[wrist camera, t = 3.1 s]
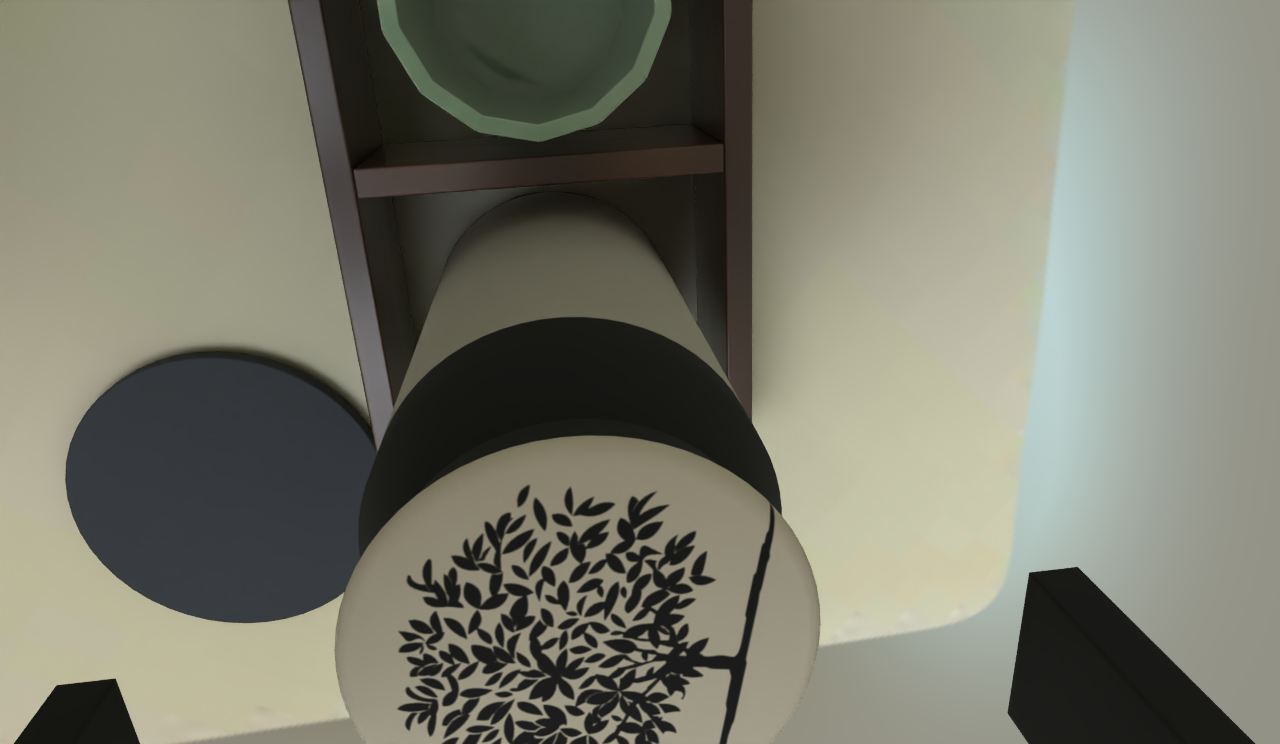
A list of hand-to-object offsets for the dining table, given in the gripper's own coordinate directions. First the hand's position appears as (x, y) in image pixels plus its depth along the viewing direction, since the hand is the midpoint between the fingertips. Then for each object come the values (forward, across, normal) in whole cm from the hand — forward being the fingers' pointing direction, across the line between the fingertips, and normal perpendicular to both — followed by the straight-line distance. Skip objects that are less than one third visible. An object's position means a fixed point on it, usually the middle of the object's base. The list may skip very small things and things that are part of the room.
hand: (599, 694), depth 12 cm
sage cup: (+18, 0, +10) cm, 21 cm away
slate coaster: (+18, -12, -6) cm, 23 cm away
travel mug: (+19, 0, 0) cm, 19 cm away
